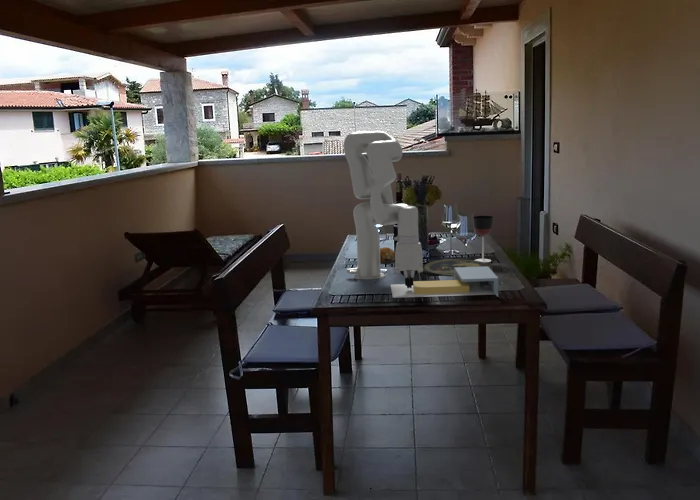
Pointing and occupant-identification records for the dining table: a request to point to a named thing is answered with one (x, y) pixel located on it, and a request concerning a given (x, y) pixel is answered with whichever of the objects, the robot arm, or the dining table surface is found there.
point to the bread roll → (387, 255)
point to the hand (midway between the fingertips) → (409, 287)
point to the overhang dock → (410, 291)
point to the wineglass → (483, 230)
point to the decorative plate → (450, 266)
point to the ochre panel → (440, 286)
